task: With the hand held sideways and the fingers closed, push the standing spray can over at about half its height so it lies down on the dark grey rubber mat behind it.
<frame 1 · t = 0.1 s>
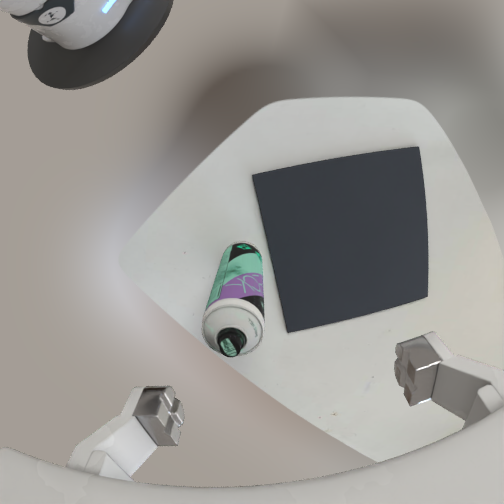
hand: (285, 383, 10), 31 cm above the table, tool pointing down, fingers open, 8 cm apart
mat: (355, 242, 40), on the table
spray can: (242, 259, 41), on the table
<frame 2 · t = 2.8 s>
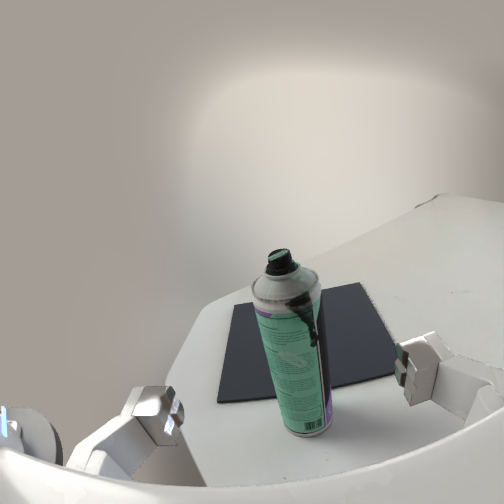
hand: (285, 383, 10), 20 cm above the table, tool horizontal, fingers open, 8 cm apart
mat: (304, 334, 44), on the table
spray can: (308, 419, 29), on the table
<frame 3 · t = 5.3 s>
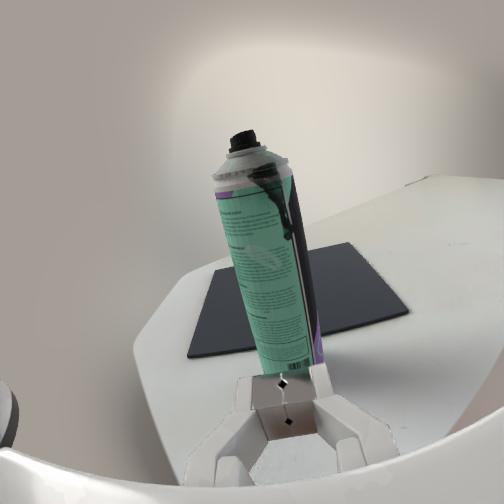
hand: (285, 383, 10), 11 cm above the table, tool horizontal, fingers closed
mat: (289, 288, 40), on the table
spray can: (294, 369, 25), on the table
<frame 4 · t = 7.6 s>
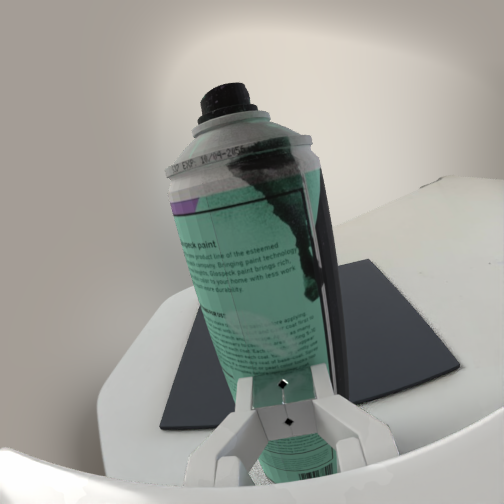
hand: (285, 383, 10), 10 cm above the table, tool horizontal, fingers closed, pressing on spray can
mat: (297, 326, 30), on the table
spray can: (307, 461, 15), on the table, touching gripper
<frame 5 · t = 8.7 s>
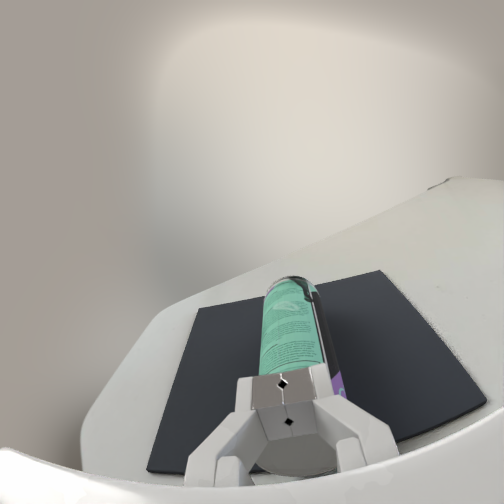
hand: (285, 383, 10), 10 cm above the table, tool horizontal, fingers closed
mat: (303, 351, 26), on the table
spray can: (305, 459, 12), point 3 cm above the table, touching mat
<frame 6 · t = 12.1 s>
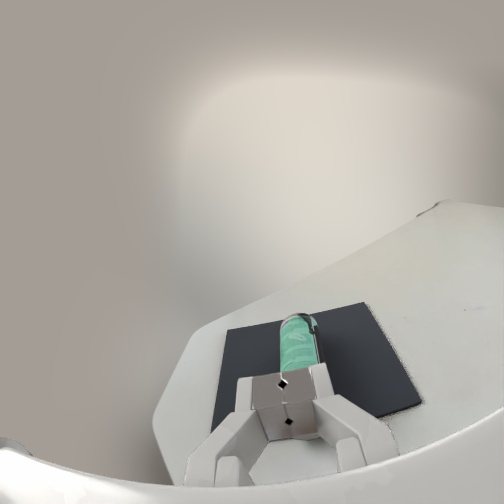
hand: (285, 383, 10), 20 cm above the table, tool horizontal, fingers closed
mat: (305, 364, 38), on the table
spray can: (308, 427, 25), point 3 cm above the table, touching mat
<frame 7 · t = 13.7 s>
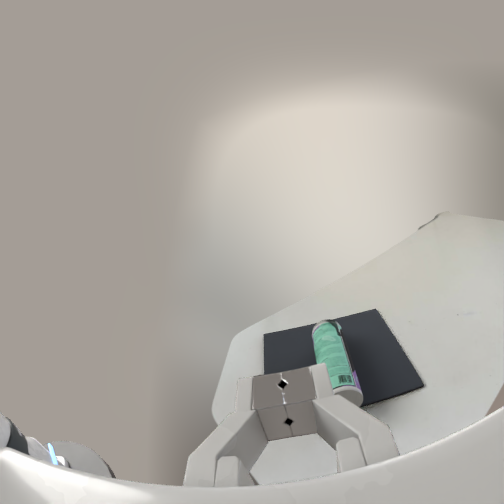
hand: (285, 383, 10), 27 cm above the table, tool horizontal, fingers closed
mat: (333, 360, 47), on the table
spray can: (343, 404, 34), point 3 cm above the table, touching mat
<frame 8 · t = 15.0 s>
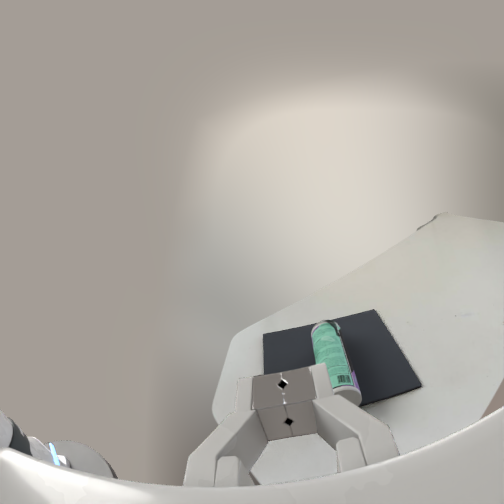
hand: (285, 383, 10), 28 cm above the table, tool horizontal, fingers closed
mat: (331, 360, 48), on the table
spray can: (342, 404, 35), point 3 cm above the table, touching mat
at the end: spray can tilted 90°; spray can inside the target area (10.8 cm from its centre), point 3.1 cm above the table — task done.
